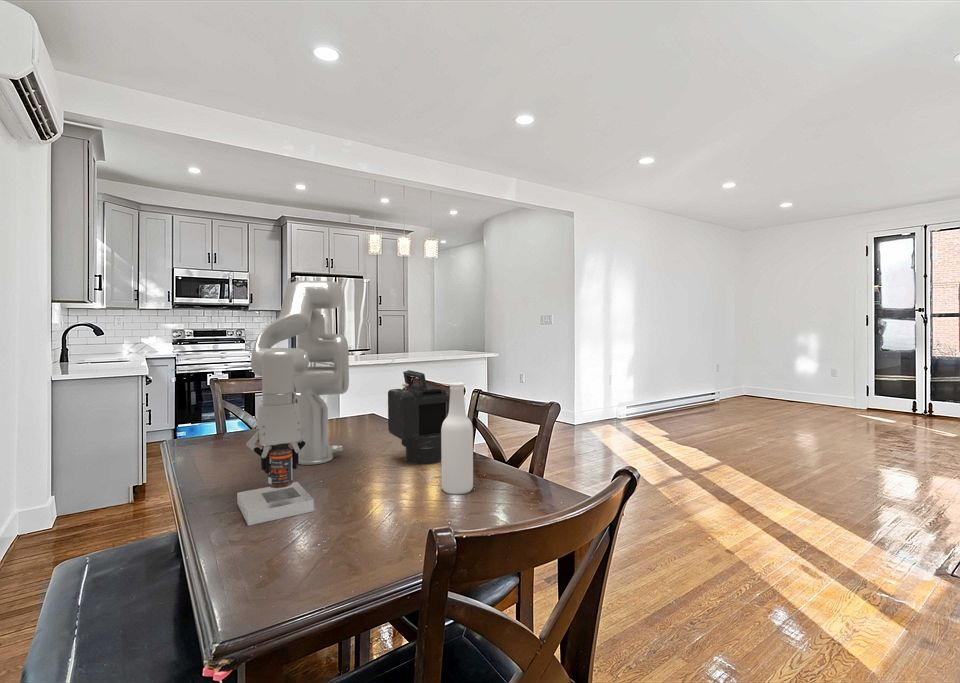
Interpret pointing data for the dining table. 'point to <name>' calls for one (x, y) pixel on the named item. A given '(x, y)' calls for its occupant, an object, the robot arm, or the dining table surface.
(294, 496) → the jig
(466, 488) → the alcohol
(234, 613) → the dining table surface
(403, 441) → the lantern
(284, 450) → the supplement bottle
